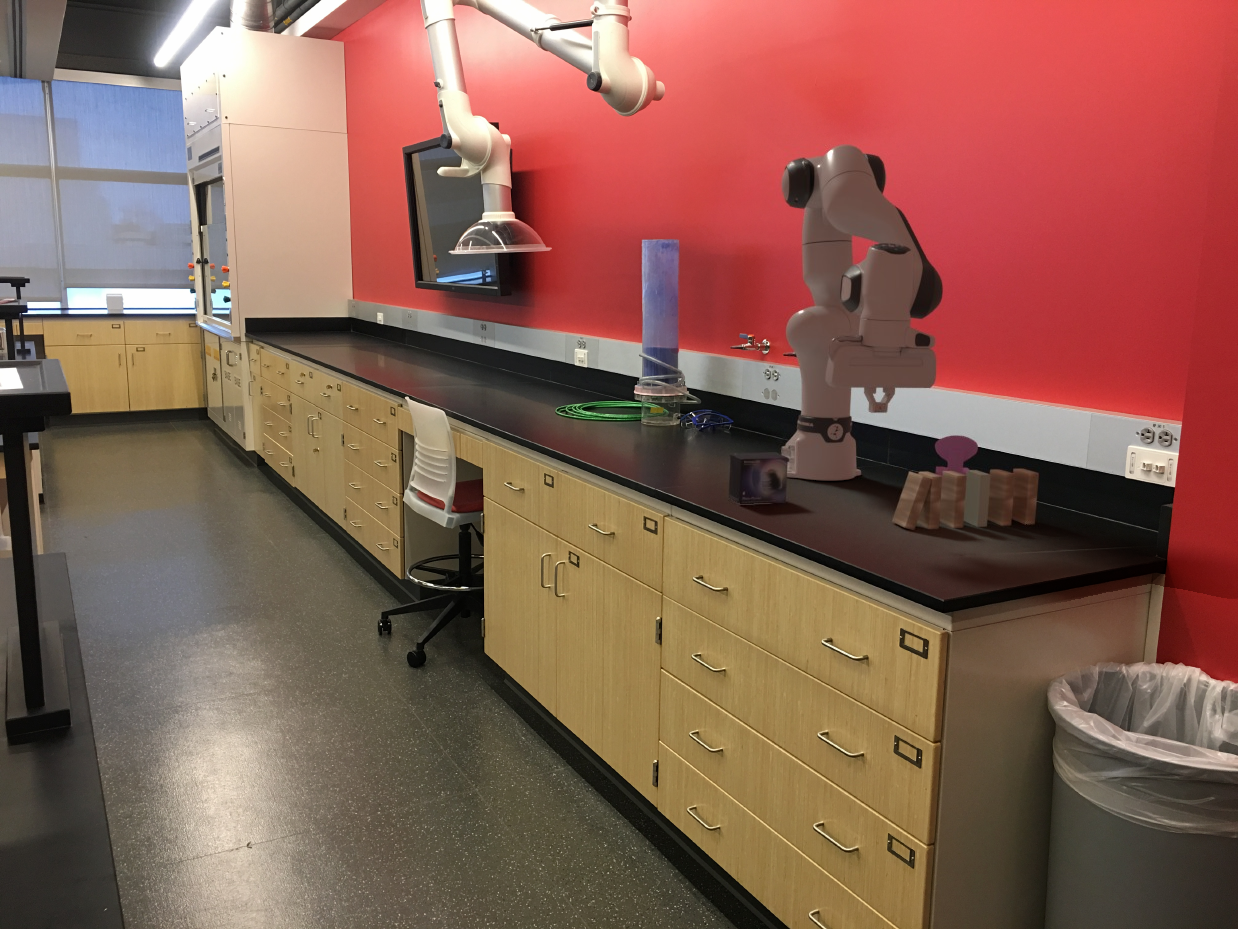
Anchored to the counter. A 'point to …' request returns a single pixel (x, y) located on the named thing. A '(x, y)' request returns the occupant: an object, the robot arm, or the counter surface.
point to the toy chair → (955, 453)
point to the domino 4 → (977, 498)
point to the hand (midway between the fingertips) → (877, 412)
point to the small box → (758, 477)
